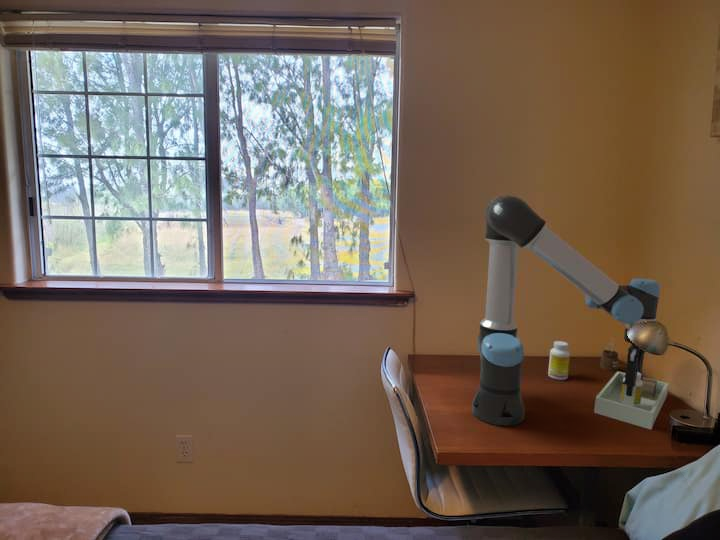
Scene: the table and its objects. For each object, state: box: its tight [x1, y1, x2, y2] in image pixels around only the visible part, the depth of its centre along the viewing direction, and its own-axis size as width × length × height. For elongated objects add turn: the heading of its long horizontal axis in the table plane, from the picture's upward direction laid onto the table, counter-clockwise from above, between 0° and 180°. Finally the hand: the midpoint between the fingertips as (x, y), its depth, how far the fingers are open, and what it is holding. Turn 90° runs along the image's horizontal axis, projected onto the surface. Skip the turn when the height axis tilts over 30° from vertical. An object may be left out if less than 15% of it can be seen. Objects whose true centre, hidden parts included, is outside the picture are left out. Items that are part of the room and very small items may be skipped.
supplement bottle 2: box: [621, 372, 643, 406], centre depth 142 cm, size 5×5×10 cm
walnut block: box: [621, 374, 658, 400], centre depth 152 cm, size 5×9×5 cm, turn 49°
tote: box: [593, 370, 669, 431], centre depth 145 cm, size 28×15×5 cm, turn 139°
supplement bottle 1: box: [547, 340, 571, 381], centre depth 166 cm, size 7×7×13 cm
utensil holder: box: [599, 337, 619, 372], centre depth 174 cm, size 6×6×12 cm
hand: (630, 401), depth 143 cm, fingers closed on supplement bottle 2, 5 cm apart
